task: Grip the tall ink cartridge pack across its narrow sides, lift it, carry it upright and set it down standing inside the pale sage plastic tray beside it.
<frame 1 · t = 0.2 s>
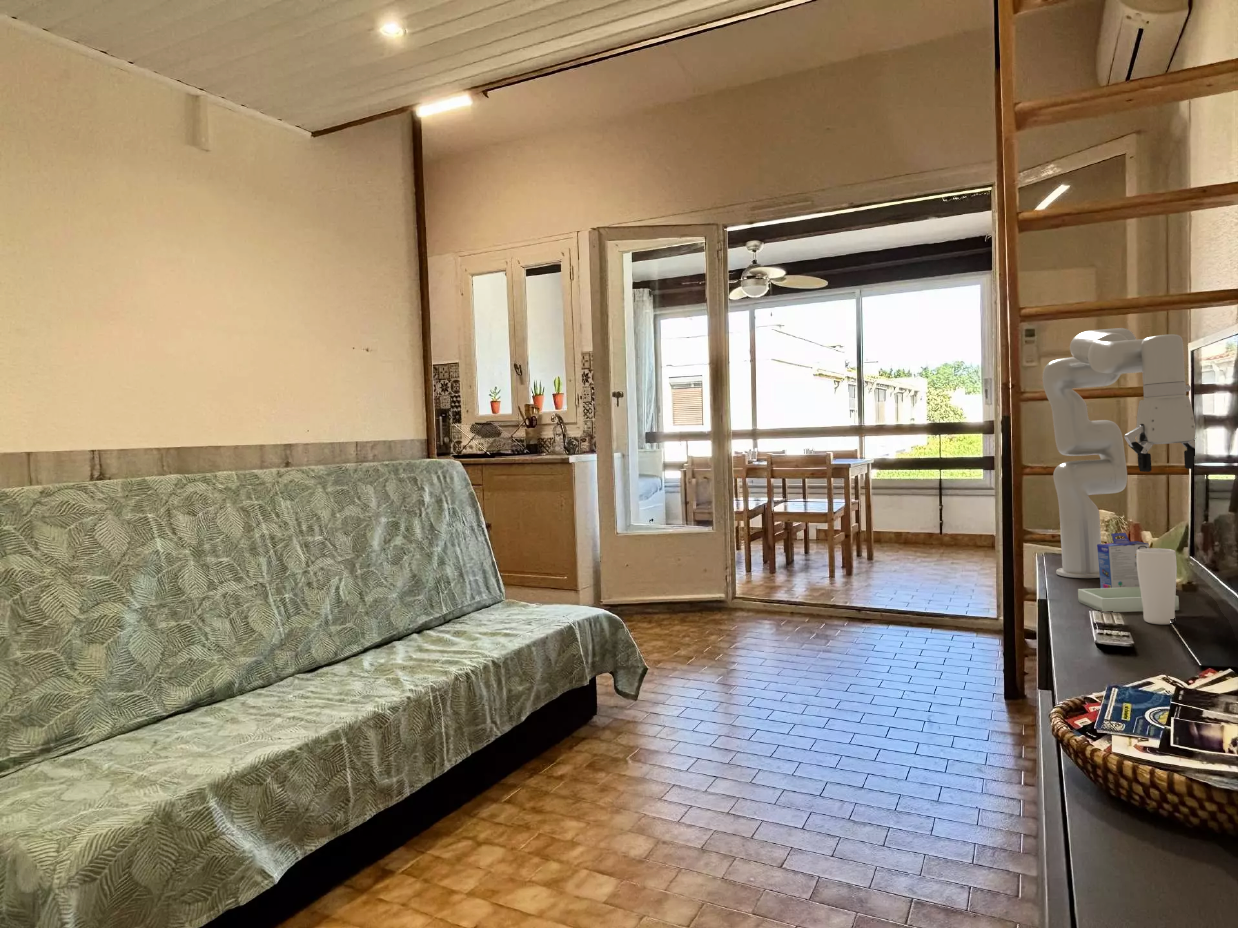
hand: (1168, 470, 168), 31 cm above the tv stand, tool pointing down, fingers open, 9 cm apart
tray: (1126, 605, 174), on the tv stand
ink cartridge box: (1125, 593, 187), on the tv stand
drinking glass: (1159, 623, 159), on the tv stand
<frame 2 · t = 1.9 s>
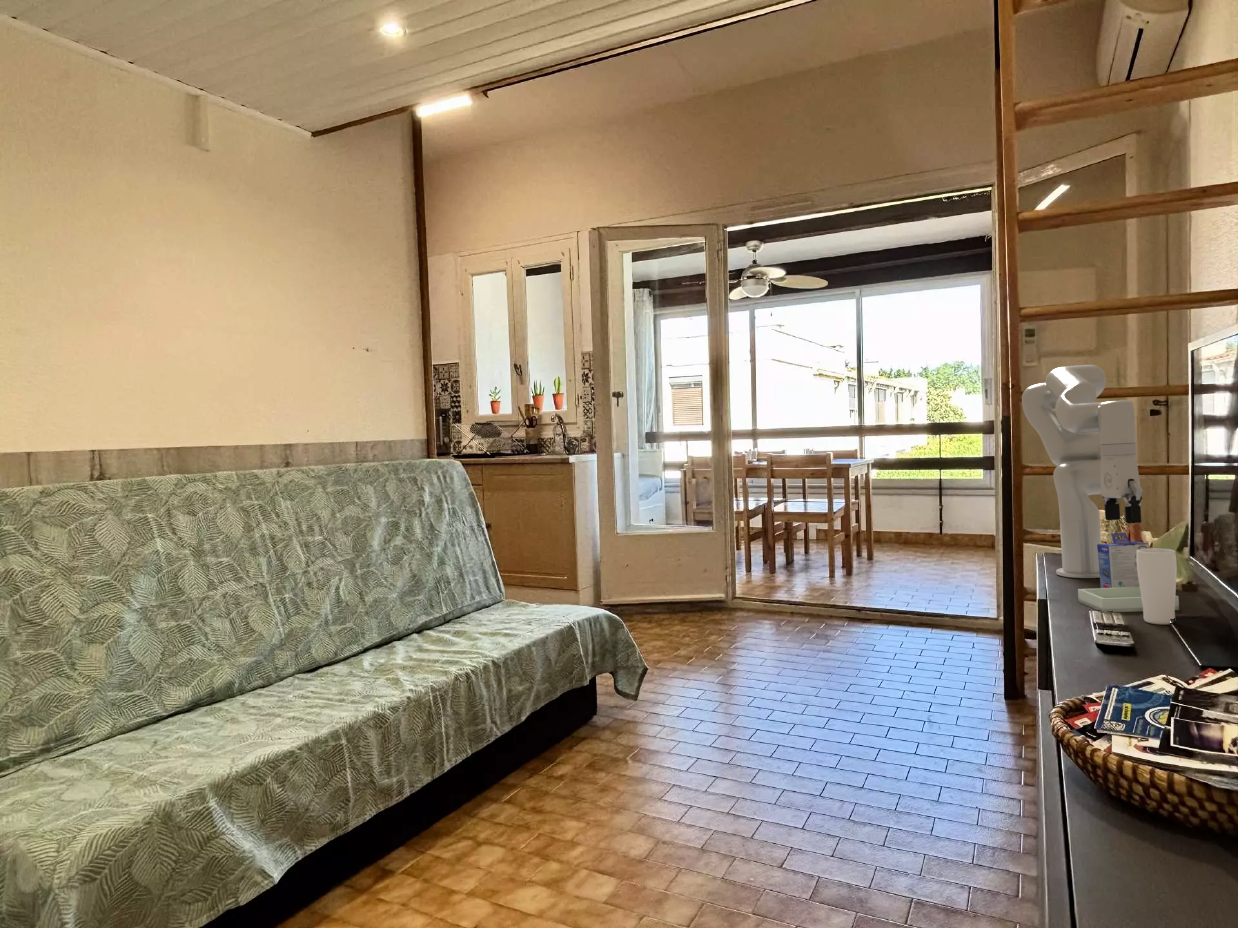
hand: (1122, 521, 186), 18 cm above the tv stand, tool pointing down, fingers open, 9 cm apart
nothing on the tv stand moved.
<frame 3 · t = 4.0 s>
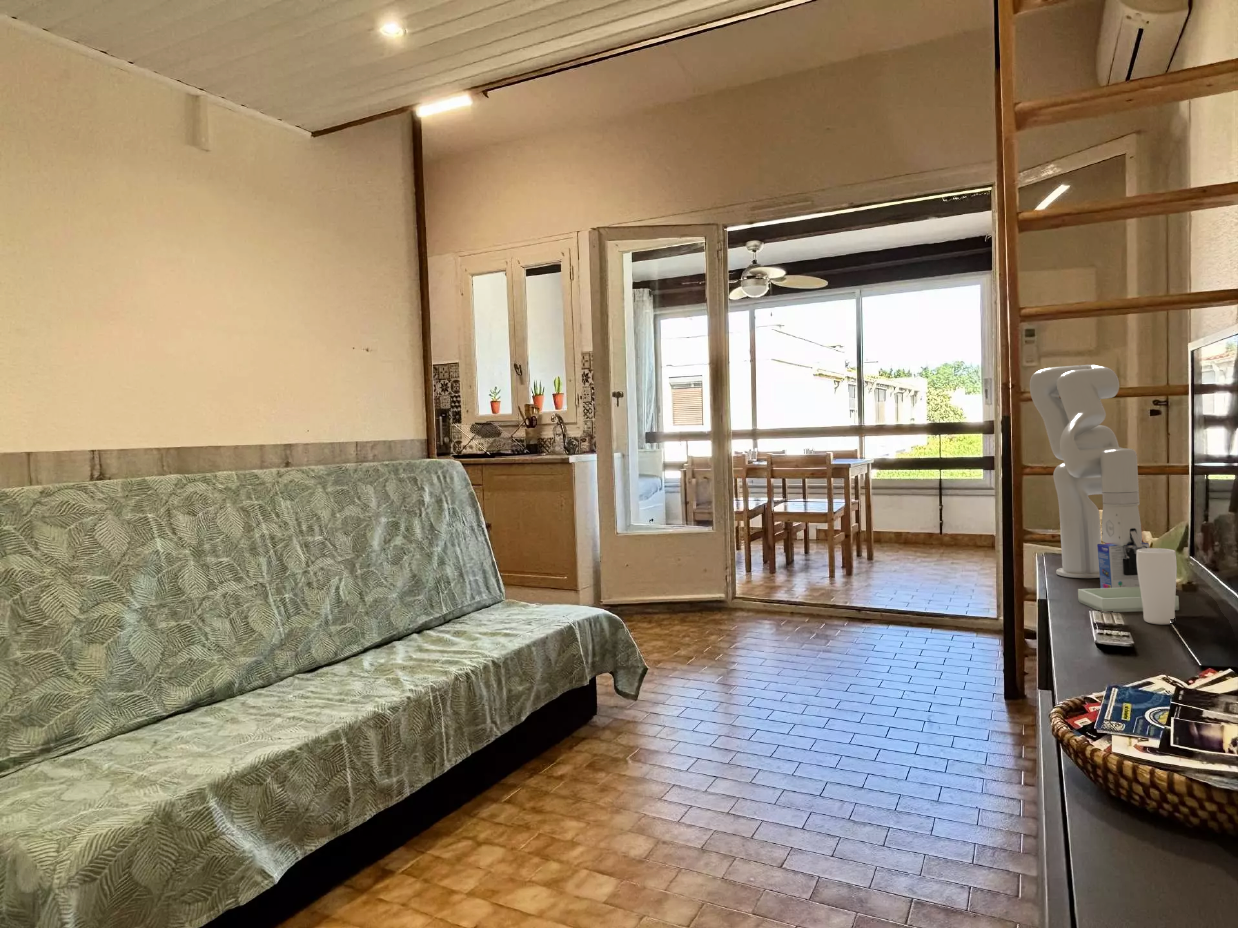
hand: (1124, 572, 187), 5 cm above the tv stand, tool pointing down, fingers closed on ink cartridge box, 5 cm apart
ink cartridge box: (1125, 593, 187), on the tv stand, touching gripper
everything else where it was.
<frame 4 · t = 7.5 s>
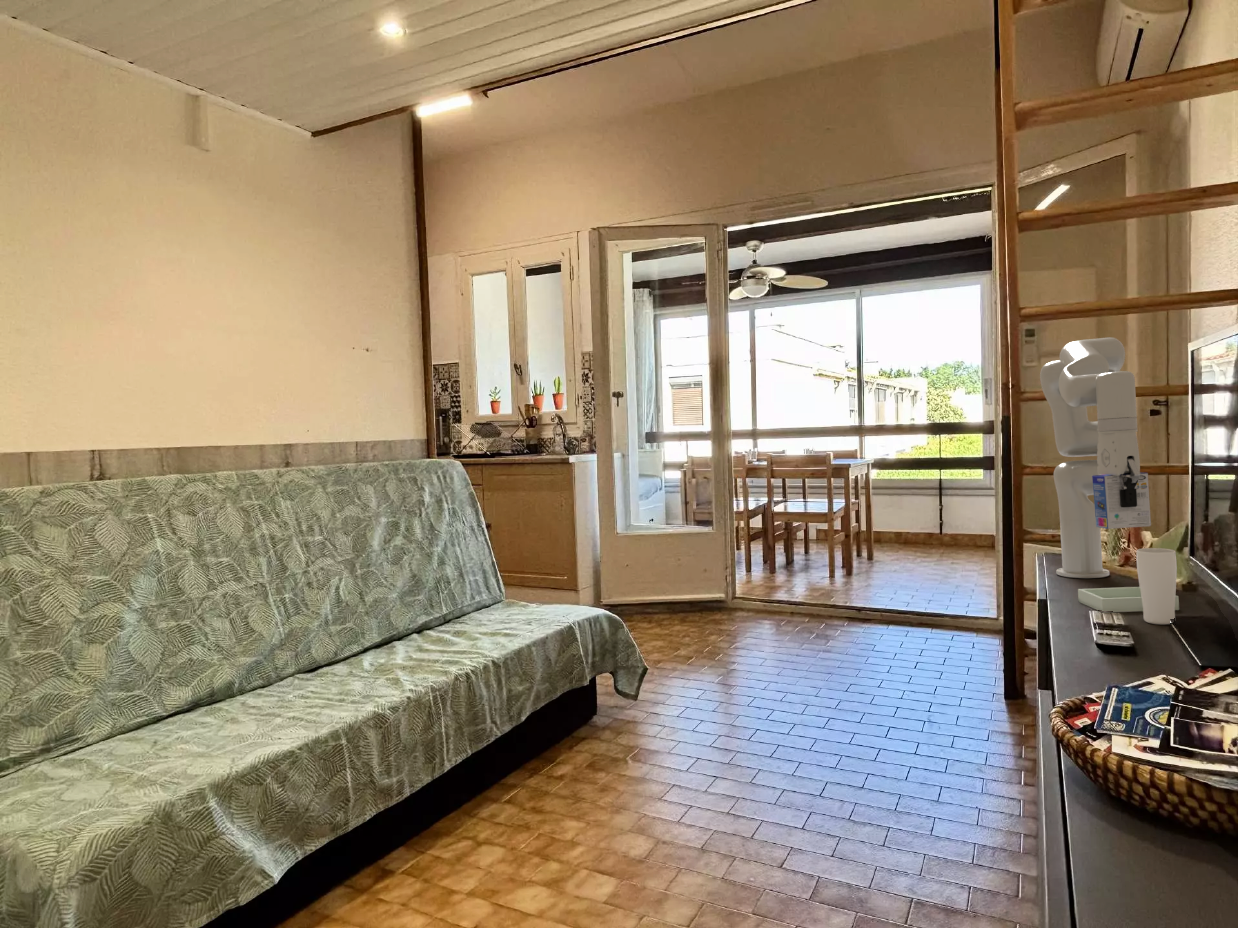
hand: (1121, 504, 174), 23 cm above the tv stand, tool pointing down, fingers closed on ink cartridge box, 5 cm apart
ink cartridge box: (1122, 527, 174), point 18 cm above the tv stand, touching gripper
everything else where it was.
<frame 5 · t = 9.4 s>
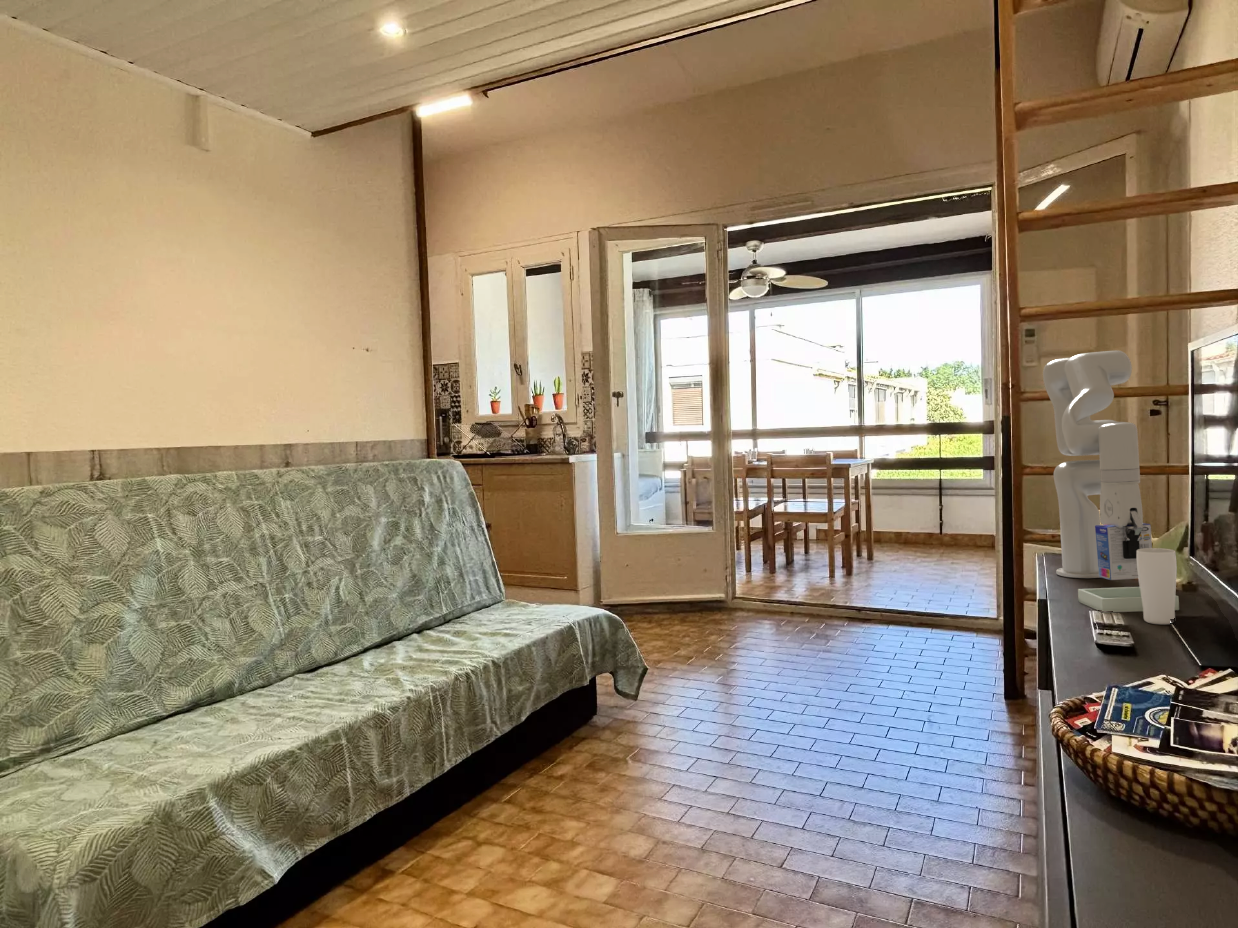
hand: (1124, 555, 174), 11 cm above the tv stand, tool pointing down, fingers closed on ink cartridge box, 5 cm apart
ink cartridge box: (1125, 578, 174), point 6 cm above the tv stand, touching gripper
everything else where it was.
when the fingers open (7 cm above the tv stand, at t = 11.2 s): ink cartridge box drops 1 cm, resting on tray.
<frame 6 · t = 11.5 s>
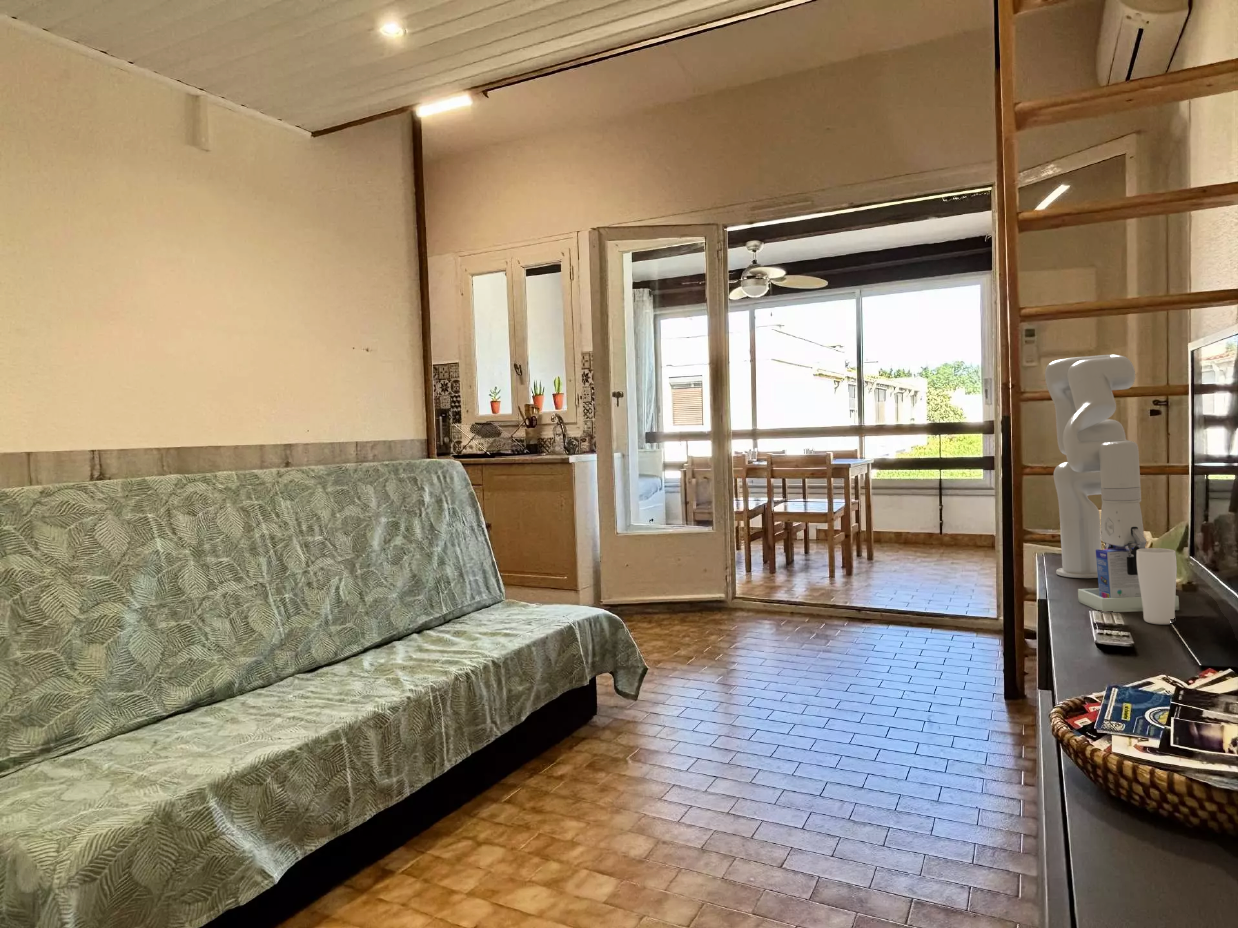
hand: (1125, 570, 174), 8 cm above the tv stand, tool pointing down, fingers open, 8 cm apart
ink cartridge box: (1126, 602, 175), point 1 cm above the tv stand, touching tray
everything else where it was.
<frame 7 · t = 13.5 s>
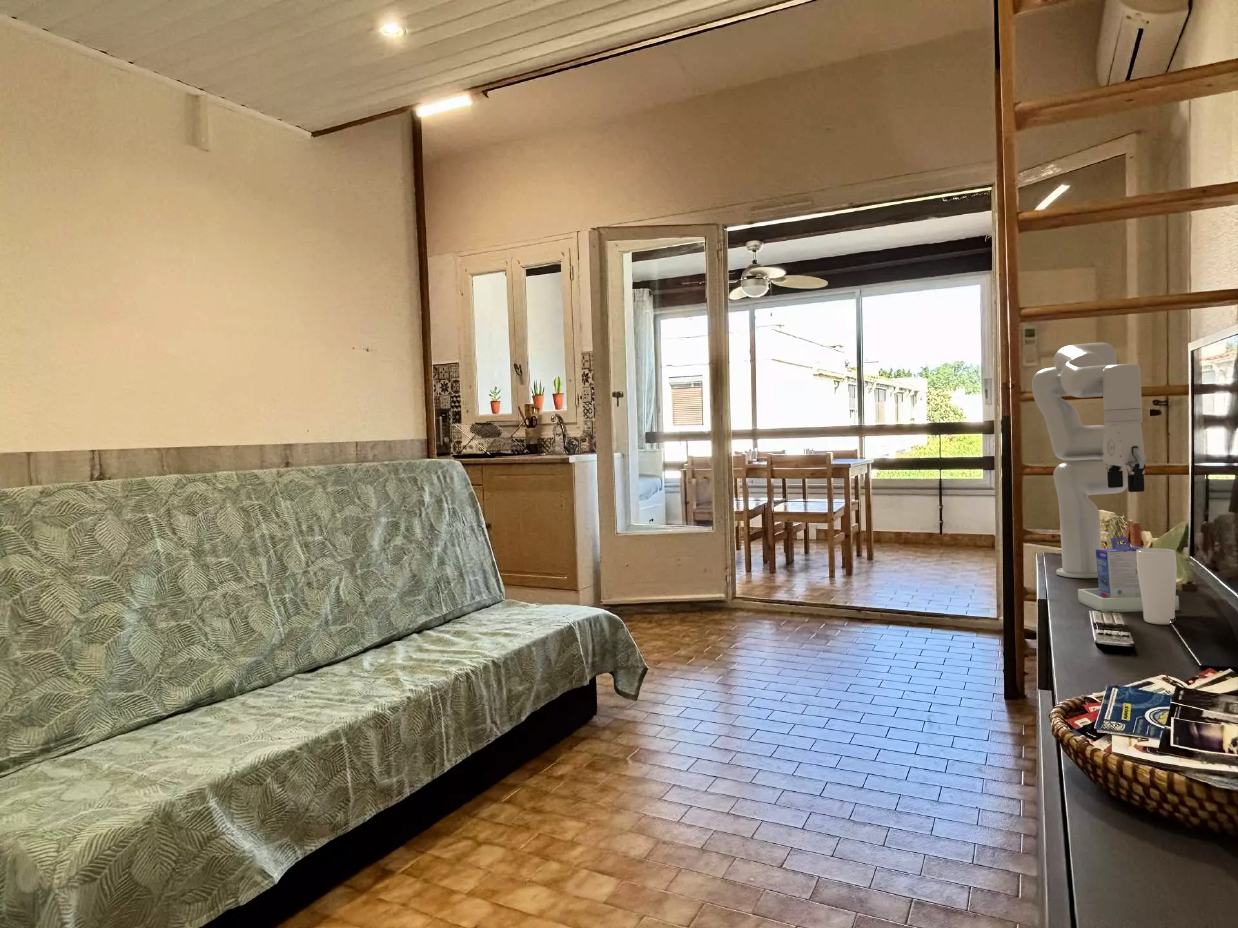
hand: (1125, 489, 180), 26 cm above the tv stand, tool pointing down, fingers open, 9 cm apart
nothing on the tv stand moved.
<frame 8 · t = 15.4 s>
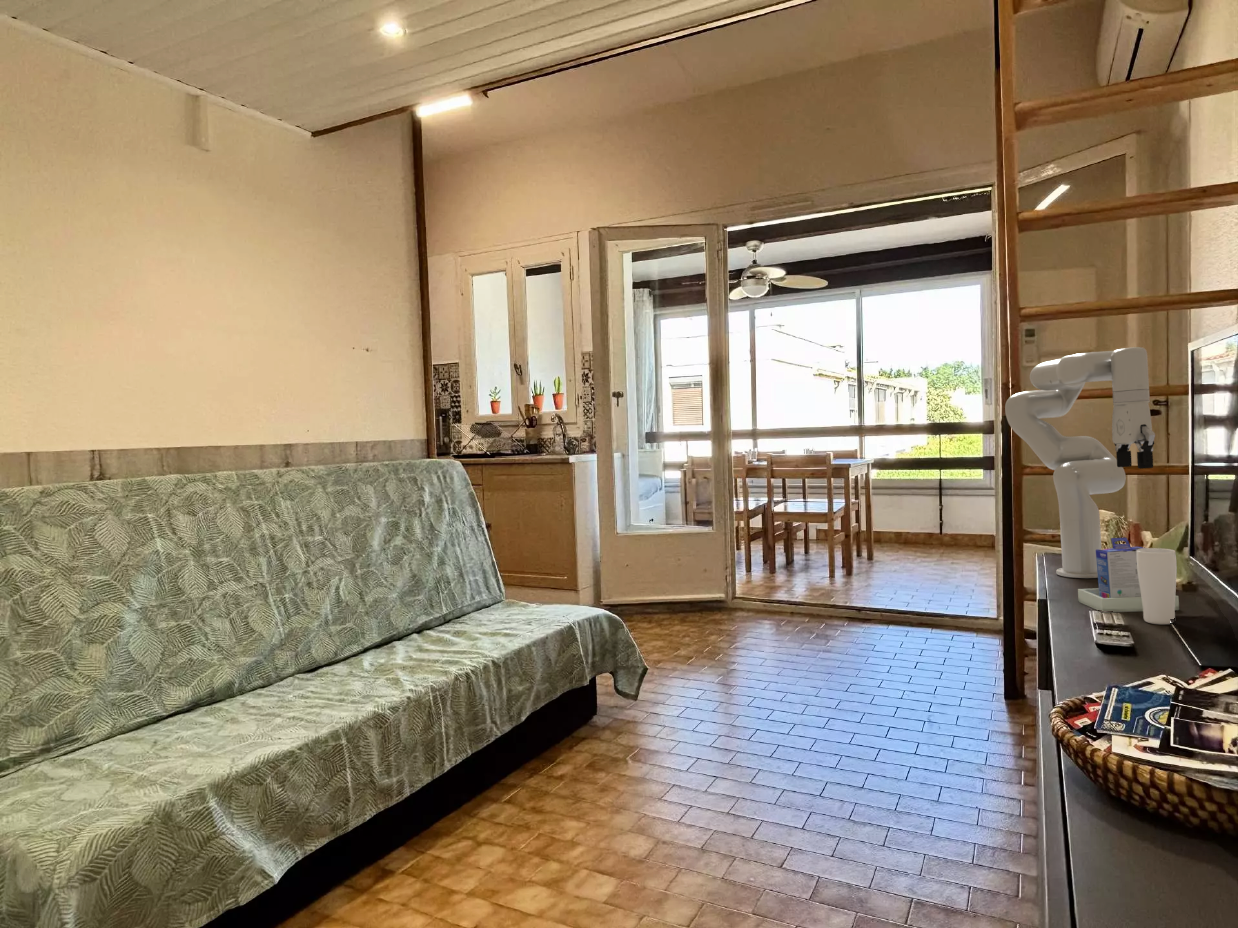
hand: (1134, 467, 189), 30 cm above the tv stand, tool pointing down, fingers open, 9 cm apart
nothing on the tv stand moved.
at the end: ink cartridge box 0.3 cm off-centre on the tray, point 0.6 cm above the tray's base; ink cartridge box tilted 0°; the gripper is holding nothing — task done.
